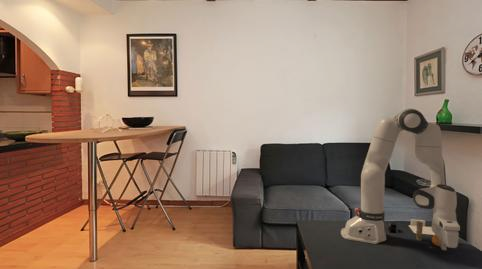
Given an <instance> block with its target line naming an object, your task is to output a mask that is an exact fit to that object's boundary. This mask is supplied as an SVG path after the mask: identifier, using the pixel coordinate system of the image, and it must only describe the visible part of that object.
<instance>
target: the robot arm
mask: <svg viewBox="0 0 482 269" xmlns="http://www.w3.org/2000/svg"><path fill="white" fill-rule="evenodd" d="M403 131H404V132H405V131H406V132H408V133H413V134H414V137H415V142H414V154H415V158H416V159H417V160H418V161H419V162H421V163H422V164H425V165H426V166H427V167H428V168H429V170H430V182H431V183H430V186H429V187H425V188H419V189H417V190H415V191H414V192H413V194H412V201H413V203H414V205H416V207H418V208H420V209H425V210H432V211H433V212H432V213H433V214H432V220H431V227H432V231H433V232H434V233H435V234H436V235H437V236H438V238H439V243H440V246H439V247H440V249H441V250H442V251H447V248H449V249H450V248H452V249H456V248H457V247H458V245H459V236H460V234H459V231H461V226H460V224H459V223H458V219H457V212H456V209H457V205H458V204H457V191H456V190H455V188H454V187H452V186H450V185H448V184H447V178H446V165H445V161H444V158H443V138H442V137H443V136H442V131H441V127H440V126H439V124H437V123H432V122H428V121H427V119H426V118H425V116H424V115H423V113H422V112H421V111H420V110H418V109H415V108H406V109H403V110H402V111H400V112H399V113H398V114H397V115H395V117H382V118H381V119H380V120H379V122H378V123H377V125H376V128H375V130H374V131H373V132H374V133H373V134H372V138H371V142H370V145H369V148H368V152H367V154H366V157H365V160H364V164H363V166H362V169H361V174H360V208H359V207H355V209H354V211H355V213H356V215H355V216H353V217H352V218H350V219H348V220H347V221H346V223H345V227H343V228H341V230H340V234H341V237H342V238H344V239H345V240H349V241H355V242H362V243H367V244H368V243H369V244H373V245H377V244H379V243H382V242H385V241H386V240H387V236H386V235H387V234H386V231H385V221H386V220H385V219H386V216H385V215H386V214H385V210H384V209H385V184H386V180H385V179H386V175H385V174H386V171H387V168H388V166H389V162H390V160H391V158H392V155H393V152H394V150H395V147H396V143H397V140H398V137H399V135H400V133H401V132H403Z"/></svg>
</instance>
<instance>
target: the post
mask: <svg viewBox="0 0 482 269" xmlns="http://www.w3.org/2000/svg"><path fill="white" fill-rule="evenodd" d="M422 226H423V223H422V222H417V228H416V236H415V238H416V240H417V241H423V234H422Z"/></svg>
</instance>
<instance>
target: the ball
mask: <svg viewBox="0 0 482 269" xmlns="http://www.w3.org/2000/svg"><path fill="white" fill-rule="evenodd" d="M431 242H432V244H434V246H437V247H440V243H439V238H438V236H437V235H432V236H431Z"/></svg>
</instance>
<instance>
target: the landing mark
mask: <svg viewBox="0 0 482 269" xmlns="http://www.w3.org/2000/svg"><path fill="white" fill-rule="evenodd" d="M407 226H408V228H410V230H411V231H412V232H413V233H414V234H416V228H417V226H414V225H411V224H409V225H407ZM422 235H429V236H430V235H431V236H434V235H436V234H435V233H434V232H433V231H432V226H426V225H425V226H422Z"/></svg>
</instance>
